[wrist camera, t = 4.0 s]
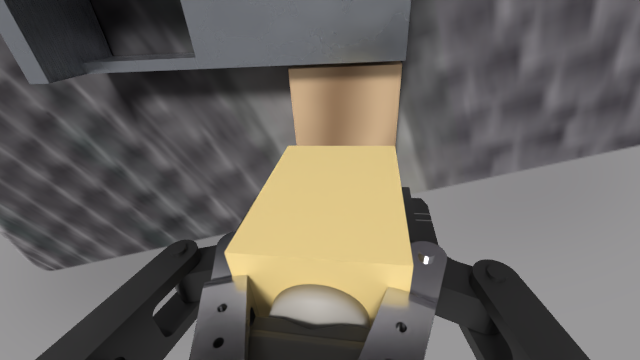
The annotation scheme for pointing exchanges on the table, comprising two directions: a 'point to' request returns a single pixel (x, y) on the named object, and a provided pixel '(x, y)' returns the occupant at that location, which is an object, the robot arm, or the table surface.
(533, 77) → the table surface
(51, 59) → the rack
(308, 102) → the pad
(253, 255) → the yellow block with dome
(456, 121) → the table surface
